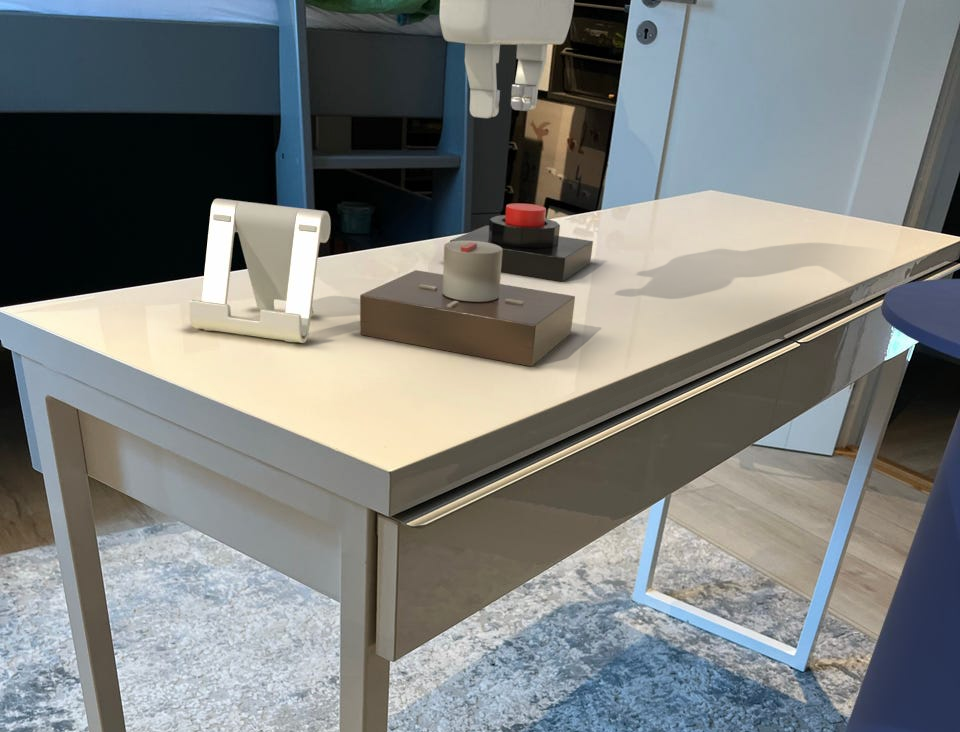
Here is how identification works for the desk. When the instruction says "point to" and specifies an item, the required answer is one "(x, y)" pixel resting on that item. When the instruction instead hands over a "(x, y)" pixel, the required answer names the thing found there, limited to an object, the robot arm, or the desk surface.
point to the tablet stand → (262, 268)
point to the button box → (534, 248)
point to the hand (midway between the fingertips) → (504, 113)
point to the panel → (467, 319)
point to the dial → (472, 271)
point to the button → (525, 214)
